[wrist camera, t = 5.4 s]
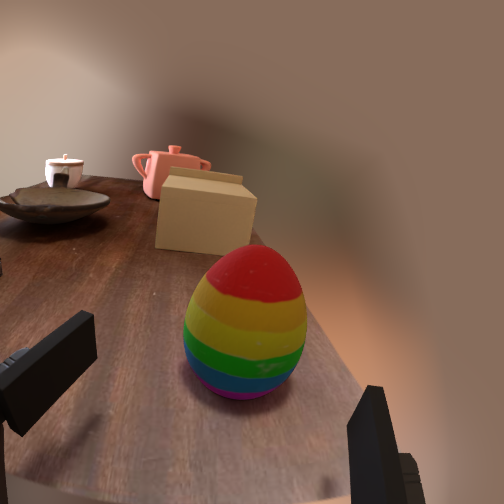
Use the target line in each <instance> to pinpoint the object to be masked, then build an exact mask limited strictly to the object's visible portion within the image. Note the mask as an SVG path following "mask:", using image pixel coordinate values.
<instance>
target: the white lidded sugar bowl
mask: <svg viewBox="0 0 504 504" xmlns="http://www.w3.org/2000/svg"><path fill="white" fill-rule="evenodd" d="M83 164H84V161H82V160H74V159H67V154H65V155H64V158H63V159H52V160H47V161H46V177H47V182H48V184H49V185H50V186H51V187H52V186H53V175H54V174H55V173H60V172H61V170H62V169H63V167H65V166H67V167H68V168H69V181H68V185H67V188H71V189H73V188H74V187H76V186H77V184H78V183H79V181H80V179H81V176H82V170H83Z"/></svg>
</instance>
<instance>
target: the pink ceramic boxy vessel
mask: <svg viewBox="0 0 504 504" xmlns="http://www.w3.org/2000/svg"><path fill="white" fill-rule="evenodd" d="M180 149H181V147H180V146H173V145H170V146H169V152H161V151H150V152H149V154H136V155H135V156H133V158H132V162H133V165H134V167H135V168H136V169H137V171H138V172H139V173H140V174H141V175H142V176H143V177H144V181H143V189H144V192H145V193H146V194H147V195H148V196H149V197H150V198H152V199H160V196H161V188H162V185H163V184H164V182H165V181H166V179H167V178H168V176H169V173H170V167H171V166H172V167H180V168H188V169H196V170H200V164H202V165H203V167H202V169H201V170H203V171H209V170H210V168H211V164H210V163H209V162H208V161H205V160H200V158H199V157H196V156H192V155H187V154H180V153H179V152H180ZM143 158H148V160H147V164H146V169H145V171H144V170H143V168H142V165H141V159H143Z"/></svg>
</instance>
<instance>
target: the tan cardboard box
mask: <svg viewBox="0 0 504 504" xmlns="http://www.w3.org/2000/svg"><path fill="white" fill-rule="evenodd" d="M242 179H243V177H242V176H237V175H231V174H224V173H217V172H210V171H203V170H196V169H188V168H180V167H172V166H171V167H170V173H169V176H168V178H167V179H166V181H165V182H164V184H163V185H162V188H161V196H160V204H159V213H158V223H157V233H156V243H155V248H158V249H167V250H176V251H185V252H194V253H203V254H212V255H221V256H225V255H226V254H228V253H229V252H231V251H233V250H235V249H237V248H240V247H243V246H247V245H249V242H250V237H251V231H252V226H253V221H254V215H255V209H256V204H257V198H256V197H255V196H254V195H253V194H251V193H250V192H249V191H248V190H247V189H246V188H244V186H242V185H241V184H242Z"/></svg>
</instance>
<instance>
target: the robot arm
mask: <svg viewBox="0 0 504 504" xmlns="http://www.w3.org/2000/svg"><path fill="white" fill-rule="evenodd" d="M96 359H97V349H96V338H95V326H94V314H91V313H89V312H86V311H83V310H81V311H80V312H78V313H77V314H76V315H74V316H73V317H72V318H70V319H69V320H68V321H66V322H65V323H64V324H62V325H61V326H60V327H58V328H57V329H56V330H54V331H53V332H52V333H50V334H49V335H48V336H47V337H45V338H44V339H43V340H41V341H40V342H39V343H37V344H36V345H35V346H34V347H32V348H31V349H29V348H27V347H26V348H23V349H21V350H18V351H16V352H15V353H13V354H12V355H11V356H10V357H9V358H7V359H6V360H4V362H3V363H1V364H0V504H8V497H7V488H6V477H5V462H4V427H3V424H2V423H3V422H4V421H5V420H6V421H7V423H8V425H9V427H10V429H12V430H13V431H14V432H16V433H17V434H18V435H20V436H21V437H23V436H24V435H25V434H26V433H27V432H28V431H29V430H30V428H31V427H32V426H33V425H34V424H35V423H36V422H37V421H38V420H39V419H40V418H41V417H42V416H43V415H44V413H45V412H46V411H47V410H48V409H49V408H50V407H51V406H52V405H53V404H54V403H55V402H56V401H57V400H58V399H59V398H60V397H61V396H62V394H63V393H64V392H65V391H66V390H67V389H68V388H69V387H70V386H71V385H72V384H73V383H74V382H75V381H76V380H77V379H78V378H79V377H80V376H81V375H82V374H83V373H84V372H85V371H86V370H87V369H88V368H89V367H90V366H91V365H92V363H93V362H94V361H95V360H96ZM347 436H348V450H349V465H350V485H351V504H426V503H425V498H424V494H423V489H422V484H421V483H420V481H421V480H420V475H418V474H419V471H418V467H417V463H416V461H415V460H414V458H413V457H412V455H411V454H410V453H398V449H397V444H396V440H395V435H394V431H393V426H392V422H391V418H390V414H389V409H388V405H387V401H386V397H385V394H384V390H383V387H378V386H371V385H368V386H367V387H366V389H365V391H364V393H363V395H362V397H361V399H360V401H359V403H358V405H357V407H356V409H355V411H354V413H353V415H352V417H351V418H350V420H349V422H348V424H347Z"/></svg>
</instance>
